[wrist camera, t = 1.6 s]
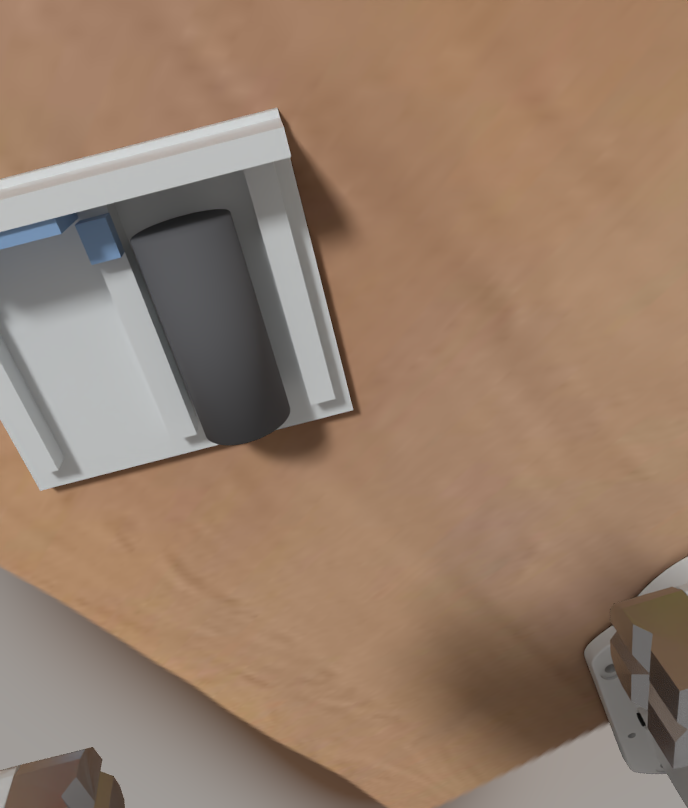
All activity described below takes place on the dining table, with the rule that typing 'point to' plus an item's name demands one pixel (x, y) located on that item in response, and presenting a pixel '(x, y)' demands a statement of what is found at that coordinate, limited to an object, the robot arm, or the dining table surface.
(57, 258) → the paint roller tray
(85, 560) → the dining table surface
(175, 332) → the gray roller in tray
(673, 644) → the robot arm
